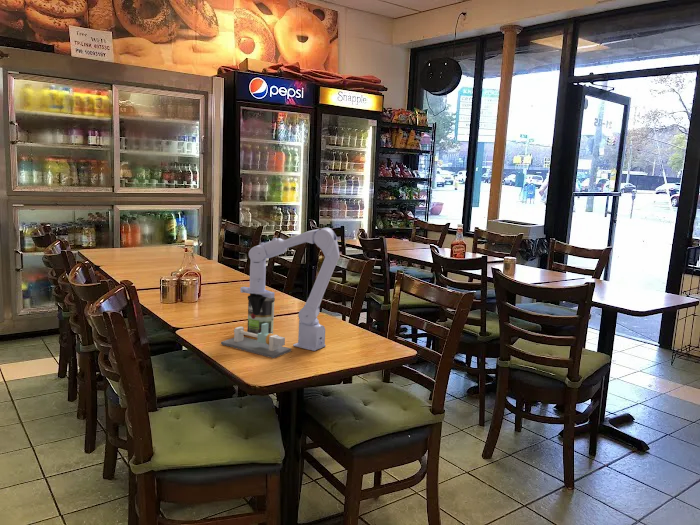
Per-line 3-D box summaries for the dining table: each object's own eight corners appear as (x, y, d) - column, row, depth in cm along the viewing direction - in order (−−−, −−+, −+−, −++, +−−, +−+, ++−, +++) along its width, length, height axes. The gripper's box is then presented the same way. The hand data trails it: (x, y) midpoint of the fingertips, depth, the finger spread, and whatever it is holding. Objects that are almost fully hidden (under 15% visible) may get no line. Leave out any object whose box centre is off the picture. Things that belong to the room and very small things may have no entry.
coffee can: (263, 338, 212) (264, 302, 210) (241, 333, 217) (242, 298, 215) (278, 332, 221) (280, 297, 219) (257, 327, 226) (258, 293, 224)
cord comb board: (291, 351, 198) (291, 333, 197) (273, 358, 190) (274, 339, 189) (239, 338, 210) (240, 321, 209) (220, 344, 202) (221, 327, 201)
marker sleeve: (271, 342, 198) (272, 323, 197) (266, 343, 195) (266, 325, 194) (262, 339, 200) (263, 322, 199) (257, 341, 197) (257, 323, 196)
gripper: (235, 276, 204) (234, 312, 206) (266, 282, 197) (265, 319, 199) (247, 274, 210) (246, 309, 212) (278, 279, 203) (277, 316, 205)
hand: (256, 314), depth 206 cm, fingers closed
